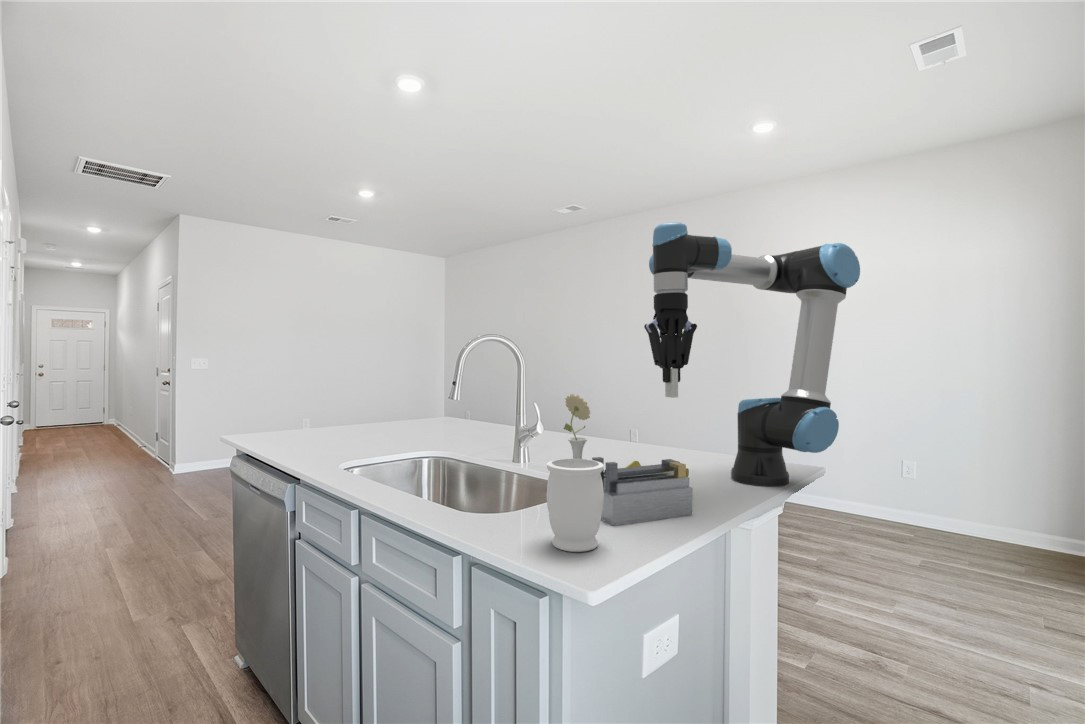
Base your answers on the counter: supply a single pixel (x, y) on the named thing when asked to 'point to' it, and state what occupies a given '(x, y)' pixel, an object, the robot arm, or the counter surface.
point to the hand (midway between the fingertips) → (671, 396)
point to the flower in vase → (582, 412)
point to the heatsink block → (645, 495)
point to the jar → (575, 503)
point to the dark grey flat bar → (646, 469)
